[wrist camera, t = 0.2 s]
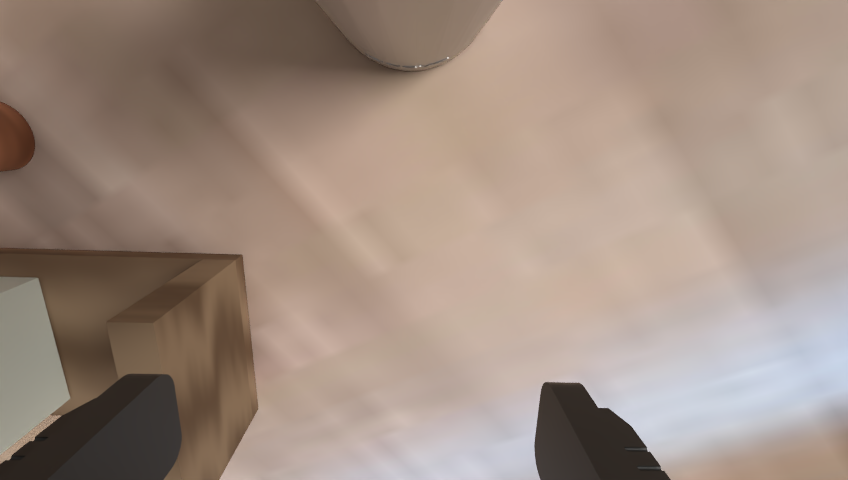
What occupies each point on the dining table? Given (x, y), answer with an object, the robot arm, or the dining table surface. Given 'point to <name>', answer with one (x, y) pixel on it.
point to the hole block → (26, 360)
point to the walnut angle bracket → (154, 336)
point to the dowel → (14, 139)
